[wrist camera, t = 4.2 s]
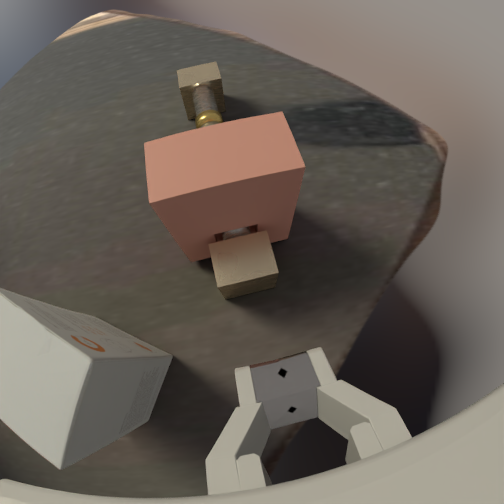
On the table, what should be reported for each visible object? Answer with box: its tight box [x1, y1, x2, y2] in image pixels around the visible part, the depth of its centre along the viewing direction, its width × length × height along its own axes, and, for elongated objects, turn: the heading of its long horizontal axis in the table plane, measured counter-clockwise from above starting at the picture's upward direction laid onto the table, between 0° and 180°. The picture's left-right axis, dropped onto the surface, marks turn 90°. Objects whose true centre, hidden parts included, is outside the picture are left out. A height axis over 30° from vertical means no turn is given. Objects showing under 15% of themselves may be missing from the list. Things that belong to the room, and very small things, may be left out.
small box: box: [0, 288, 173, 470], centre depth 16 cm, size 8×6×13 cm
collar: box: [144, 112, 305, 262], centre depth 21 cm, size 4×8×10 cm, turn 104°
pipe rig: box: [177, 62, 279, 300], centre depth 25 cm, size 22×4×5 cm, turn 14°
